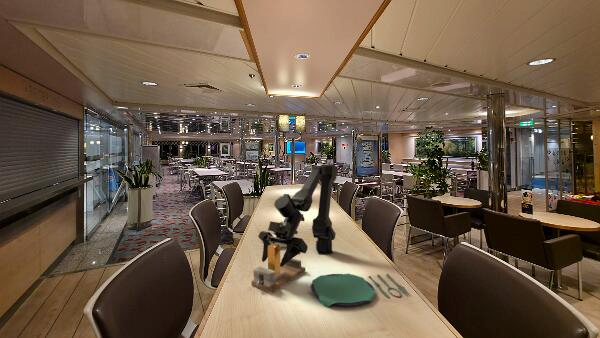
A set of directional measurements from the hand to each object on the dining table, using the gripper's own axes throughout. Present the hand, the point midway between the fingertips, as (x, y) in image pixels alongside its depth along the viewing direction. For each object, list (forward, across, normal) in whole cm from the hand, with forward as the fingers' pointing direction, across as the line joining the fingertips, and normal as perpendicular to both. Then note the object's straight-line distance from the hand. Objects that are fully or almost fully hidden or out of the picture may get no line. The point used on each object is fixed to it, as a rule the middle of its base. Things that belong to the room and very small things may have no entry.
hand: (271, 263), depth 93 cm
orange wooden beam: (+5, 0, +2) cm, 5 cm away
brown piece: (+2, 0, +8) cm, 8 cm away
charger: (-17, -24, +27) cm, 40 cm away
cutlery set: (-2, +26, +13) cm, 29 cm away
